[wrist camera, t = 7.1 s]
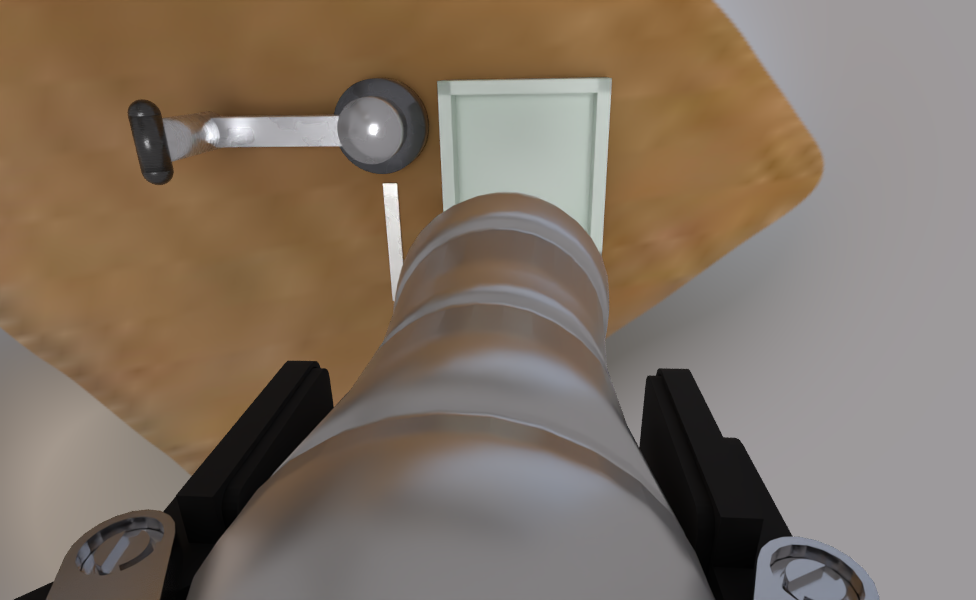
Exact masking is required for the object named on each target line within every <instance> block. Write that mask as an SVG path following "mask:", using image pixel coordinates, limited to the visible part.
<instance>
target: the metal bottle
mask: <svg viewBox="0 0 976 600" xmlns="http://www.w3.org/2000/svg"><path fill="white" fill-rule="evenodd" d="M608 316H609V289H608V277H607V273H606V269H605V266H604V263H603V259H602V256H601V254H600V252H599V251H598V249H597V247H596V245H595V243H594V242H593V240H592V238H591V237H590V236H589V234H588V233H587V232H586V231H585V230H584V229H583V228H582V226H581V225H580V224H579V223H578V222H577V221H576V220H575V219H573V218H572V217H571V216H569V215H568V214H567V213H565V212H564V211H563V210H561V209H560V208H558V207H557V206H555V205H554V204H552V203H549V202H547V201H545V200H543V199H541V198H539V197H536V196H532V195H528V194H523V193H519V192H495V193H489V194H483V195H479V196H476V197H473V198H471V199H468V200H466V201H463V202H461V203H458V204H456V205H453V206H452V207H450V208H449V209H447V210H446V211H444V212H443V213H441V214H440V215H438V216H436V217H435V218H434V219H433V220H432V221H431V222H430V223H429V224H428V225H427V226H426V227H425V228H424V229H423V230H422V231H421V232H420V234H419V235H418V237H417V238H416V240H415V241H414V243H413V244H412V246H411V247H410V249H409V251H408V253H407V256H406V258H405V261H404V263H403V266H402V269H401V272H400V276H399V280H398V284H397V289H396V295H395V301H394V313H393V316H392V318H391V321H390V324H389V327H388V330H387V332H386V335H385V338H384V341H383V343H382V344H381V346H380V347H379V349H378V350H377V352H376V353H375V354H374V356H373V357H372V359H371V361H370V362H369V363H368V365H367V366H366V368H365V369H364V371H363V372H362V374H361V375H360V377H359V378H358V380H357V381H356V382H355V384H354V385H353V387H352V388H351V390H350V391H349V392H348V393H347V394H346V395H345V396H344V397H343V398H342V399H341V400H340V402H339V403H338V404H337V405H336V406H335V407H334V408H333V409H332V410H331V411H330V412H329V413H328V415H327V416H326V417H325V418H324V419H323V420H322V421H321V422H320V423H319V424H318V425H317V426H316V428H315V429H314V430H313V431H312V432H311V433H310V434H309V435H308V436H307V437H306V438H305V439H304V441H303V442H302V443H301V444H300V445H299V446H298V447H297V448H296V449H295V450H294V451H293V452H292V453H291V455H290V456H289V457H288V458H287V459H286V460H285V461H284V462H283V463H282V464H281V465H280V466H279V468H278V469H277V470H276V471H275V472H274V473H273V474H272V476H271V477H270V479H268V480H267V481H266V482H265V483H264V484H263V485H262V486H261V487H260V488H258V489H257V491H256V492H255V493H254V495H253V496H252V497H251V499H250V500H249V501H248V503H247V504H246V506H245V507H244V508H243V510H242V511H241V512H240V514H239V515H238V516H237V517H236V519H235V520H234V521H233V522H232V524H231V525H230V526H229V527H228V529H227V530H226V531H225V532H224V534H223V535H222V536H221V538H220V539H219V540H218V541H217V543H216V544H215V546H214V547H213V549H212V550H211V552H210V553H209V555H208V556H207V558H206V559H205V561H204V562H203V564H202V565H201V567H200V568H199V570H198V571H197V573H196V574H195V576H194V577H193V580H192V583H191V586H190V589H189V593H188V596H187V599H186V600H715V598H714V596H713V593H712V591H711V589H710V587H709V584H708V582H707V579H706V577H705V574H704V572H703V569H702V567H701V564H700V562H699V560H698V557H697V555H696V552H695V551H694V549H693V547H692V546H691V544H690V543H689V541H688V539H687V538H686V536H685V533H684V531H683V529H682V527H681V526H680V524H679V522H678V520H677V518H676V516H675V514H674V512H673V510H672V509H671V507H670V505H669V503H668V501H667V499H666V497H665V495H664V494H663V492H662V490H661V488H660V486H659V484H658V482H657V480H656V479H655V477H654V475H653V473H652V471H651V469H650V467H649V465H648V464H647V462H646V460H645V458H644V456H643V454H642V452H641V450H640V449H639V447H638V445H637V443H636V441H635V439H634V437H633V436H632V434H631V432H630V430H629V428H628V426H627V424H626V421H625V418H624V415H623V412H622V409H621V406H620V404H619V401H618V398H617V395H616V392H615V389H614V386H613V383H612V381H611V378H610V375H609V372H608V369H607V361H606V349H605V337H606V332H607V324H608Z"/></svg>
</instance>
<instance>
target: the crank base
mask: <svg viewBox="0 0 976 600" xmlns="http://www.w3.org/2000/svg"><path fill="white" fill-rule="evenodd" d="M367 96H382V97H385V98H388V99H390V100H391V101H393V102H394V103H395V104H396V105H397V106H398V107H399V108H400V109H401V111H402V112H403V114H404V116H405V118H406V122H407V128H408V132H407V138H406V141H405V144H404V146H403V147H402V149H401V150H400V151H399V152H398V153H397V154H395V155H394V156H392V157H391V158H389V159H388V160H386V161H384V162H382V163H378V164H365V163H362V162H359V161H357V160H355V159H354V158H352V157H351V156H350V155H349V154H348V153H347V152H346V151H345V150H344V148H343V147H342V146H339V147H340V149H341V150H342V152H343V153H344V155H345V156H346V157H347V158H348V159H349V160H350V161H351V162H352V163H353V164H355V165H356V166H358V167H359V168H361V169H363V170H365V171H368V172H371V173H377V174H387V173H392V172H396V171H398V170H400V169H402V168H404V167H405V166H407V165H408V164H409V163H411V162H412V161H413V160H414V159H415V158H417V157H418V155H419V154H420V153H421V152H422V150H423V148H424V146H425V144H426V142H427V138H428V133H429V121H428V115H427V112H426V109H425V106H424V104H423V103H422V101H421V99H420V98H419V96H418V95H417V94H416V93H415V92H414V91H413V90H412V89H411V88H410V87H408V86H407V85H405V84H404V83H402V82H400V81H397V80H394V79H389V78H375V79H367V80H363V81H360V82H358V83H356V84H354V85H352V86H351V87H350V88H348V89H347V90H346V91H345V92H344V93H343V95H342V96H341V98H340V99H339V101H338V103H337V105H336V108H335V112H334V115H339V114H341V112H342V110H343V109H344V107H345V106H346V105H347V104H349V103H350V102H351V101H353V100H355V99H358V98H362V97H367ZM383 192H384V203H385V215H386V226H387V238H388V250H389V261H390V273H391V284H392V296H393V301H395V295H396V289H397V284H398V280H399V276H400V272H401V269H402V266H403V251H402V237H401V224H400V211H399V198H398V185H397V183H383Z"/></svg>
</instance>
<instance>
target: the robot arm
mask: <svg viewBox="0 0 976 600" xmlns="http://www.w3.org/2000/svg"><path fill="white" fill-rule="evenodd" d="M333 408H334V407H333V399H332V392H331V385H330V377H329V373H328V370H327V369H324V368H320V365H319V363H318V362H317V361H287V362H286V363H285V364H284V365H283V366H282V368H281V369H280V370H279V371H278V373H277V374H276V375H275V376H274V377H273V379H272V380H271V381H270V382H269V383H268V385H267V386H266V387H265V388H264V389H263V391H262V392H261V393H260V394H259V396H258V397H257V398H256V399H255V400H254V402H253V403H252V404H251V405H250V406H249V408H248V409H247V410H246V411H245V412H244V414H243V415H242V416H241V417H240V419H239V420H238V421H237V422H236V423H235V425H234V426H233V427H232V428H231V429H230V431H229V432H228V433H227V434H226V435H225V437H224V438H223V439H222V440H221V441H220V443H219V444H218V445H217V446H216V448H215V449H214V450H213V451H212V452H211V454H210V455H209V456H208V457H207V458H206V460H205V461H204V462H203V463H202V464H201V466H200V467H199V468H198V469H197V471H196V472H195V473H194V474H193V475H192V477H191V478H190V479H189V480H188V481H187V483H186V484H185V485H184V486H183V488H182V489H181V490H180V491H179V492H178V494H177V495H176V497H175V498H174V499H173V501H172V502H171V503H170V504H169V505H168V507H167V508H166V509H165V510H164V512H162V511H156V510H139V511H132V512H128V513H125V514H122V515H118V516H115V517H113V518H111V519H109V520H107V521H104V522H102V523H100V524H99V525H97V526H95V527H94V528H92V529H91V530H89V531H88V532H87V533H85V534H84V535H83V536H82V537H80V538H79V539H78V540H77V541H76V542H75V543H74V544H73V545H72V547H71V548H70V550H69V551H68V553H67V554H66V556H65V558H64V560H63V562H62V564H61V566H60V569H59V571H58V573H57V575H56V578H55V580H54V582H52V583H49V584H47V585H45V586H43V587H40V588H38V589H36V590H34V591H32V592H30V593H27V594H25V595H23V596H21V597H18V598H16V599H14V600H186V599H187V596H188V593H189V589H190V586H191V583H192V580H193V577H194V576H195V574H196V573H197V571H198V570H199V568H200V567H201V565H202V564H203V562H204V561H205V559H206V558H207V556H208V555H209V553H210V552H211V550H212V549H213V547H214V546H215V544H216V543H217V541H218V540H219V539H220V538H221V536H222V535H223V534H224V532H225V531H226V530H227V529H228V527H229V526H230V525H231V524H232V522H233V521H234V520H235V519H236V517H237V516H238V515H239V514H240V512H241V511H242V510H243V508H244V507H245V506H246V504H247V503H248V501H249V500H250V499H251V497H252V496H253V495H254V493H255V492H256V491H257V489H258V488H260V487H261V486H262V485H263V484H264V483H265V482H266V481H267V480H268V479H270V477H271V476H272V474H273V473H274V472H275V471H276V470H277V469H278V468H279V466H280V465H281V464H282V463H283V462H284V461H285V460H286V459H287V458H288V457H289V456H290V455H291V453H292V452H293V451H294V450H295V449H296V448H297V447H298V446H299V445H300V444H301V443H302V442H303V441H304V439H305V438H306V437H307V436H308V435H309V434H310V433H311V432H312V431H313V430H314V429H315V428H316V426H317V425H318V424H319V423H320V422H321V421H322V420H323V419H324V418H325V417H326V416H327V415H328V413H329V412H330V411H331V410H332V409H333ZM639 449H640V450H641V452H642V454H643V456H644V458H645V460H646V462H647V464H648V465H649V467H650V469H651V471H652V473H653V475H654V477H655V479H656V480H657V482H658V484H659V486H660V488H661V490H662V492H663V494H664V495H665V497H666V499H667V501H668V503H669V505H670V507H671V509H672V510H673V512H674V514H675V516H676V518H677V520H678V522H679V524H680V526H681V527H682V529H683V531H684V533H685V536H686V538H687V539H688V541H689V543H690V544H691V546H692V547H693V549H694V551H695V552H696V555H697V557H698V560H699V562H700V564H701V567H702V569H703V572H704V574H705V577H706V579H707V582H708V584H709V587H710V589H711V591H712V593H713V596H714V598H715V600H879V595H878V592H877V589H876V587H875V584H874V582H873V580H872V579H871V578H870V577H869V575H868V574H867V572H866V571H865V570H864V569H863V568H862V567H861V566H860V565H859V564H858V563H856V562H855V561H854V560H853V559H852V558H851V557H849V556H848V555H846V554H844V553H843V552H841V551H839V550H837V549H836V548H834V547H832V546H830V545H827V544H824V543H822V542H819V541H816V540H812V539H808V538H803V537H793V536H792V535H791V533H790V531H789V529H788V527H787V526H786V523H785V522H784V520H783V518H782V516H781V514H780V513H779V511H778V509H777V507H776V505H775V503H774V501H773V499H772V497H771V496H770V494H769V492H768V490H767V488H766V487H765V484H764V483H763V481H762V479H761V477H760V475H759V473H758V472H757V470H756V468H755V466H754V464H753V462H752V460H751V459H750V457H749V455H748V453H747V451H746V449H745V447H744V446H743V444H742V443H741V441H740V440H739V439H737V438H725V437H723V436H722V434H721V432H720V430H719V428H718V426H717V424H716V422H715V420H714V418H713V416H712V414H711V412H710V410H709V408H708V406H707V404H706V402H705V400H704V398H703V396H702V394H701V392H700V390H699V388H698V386H697V384H696V382H695V380H694V378H693V376H692V374H691V372H690V370H689V369H658V370H657V374H656V376H648V377H647V379H646V386H645V396H644V406H643V417H642V427H641V437H640V447H639Z"/></svg>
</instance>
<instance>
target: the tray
mask: <svg viewBox="0 0 976 600" xmlns="http://www.w3.org/2000/svg"><path fill="white" fill-rule="evenodd" d="M611 85H612V78H608V77H585V78H529V79H472V80H442V81H437V87H438V108H439V128H440V149H441V170H442V191H443V212H444V211H446V210H447V209H449V208H450V207H452V206H453V205H456V204H458V203H461V202H463V201H466V200H468V199H471V198H473V197H476V196H479V195H483V194H489V193H495V192H519V193H523V194H528V195H532V196H536V197H539V198H541V199H543V200H545V201H547V202H549V203H552V204H554V205H555V206H557V207H558V208H560V209H561V210H563V211H564V212H565V213H567V214H568V215H569V216H571V217H572V218H573V219H575V220H576V221H577V222H578V223H579V224H580V225H581V226H582V228H583V229H584V230H585V231H586V232H587V233H588V234H589V236H590V237H591V238H592V240H593V242H594V243H595V245H596V247H597V249H598V251H599V252H600V254H601V256H602V242H603V225H604V207H605V190H606V173H607V155H608V138H609V120H610V103H611Z"/></svg>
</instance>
